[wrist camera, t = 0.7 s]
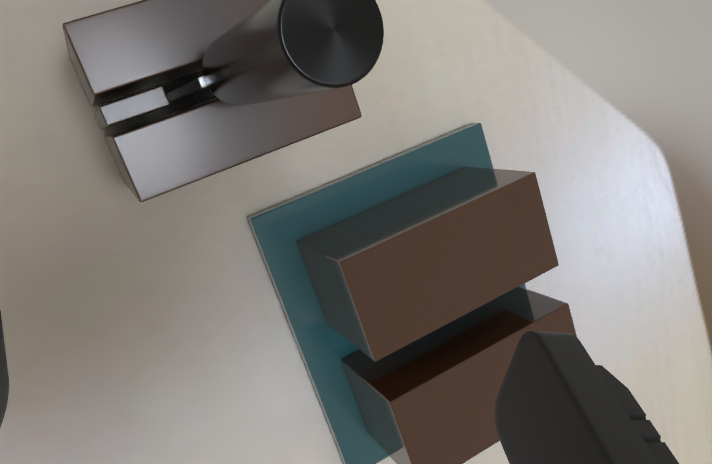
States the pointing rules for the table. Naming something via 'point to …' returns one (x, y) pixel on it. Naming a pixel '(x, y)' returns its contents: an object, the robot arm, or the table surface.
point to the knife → (291, 51)
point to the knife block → (192, 124)
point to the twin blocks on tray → (413, 295)
